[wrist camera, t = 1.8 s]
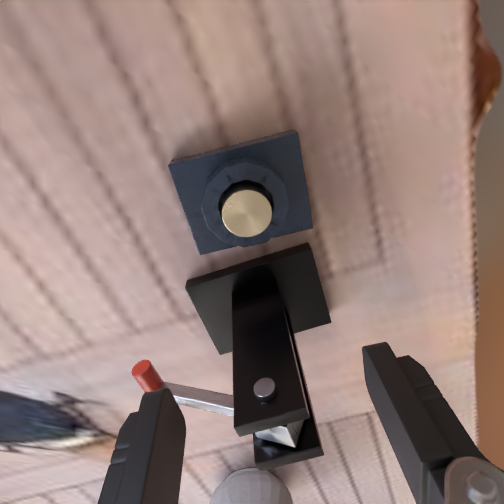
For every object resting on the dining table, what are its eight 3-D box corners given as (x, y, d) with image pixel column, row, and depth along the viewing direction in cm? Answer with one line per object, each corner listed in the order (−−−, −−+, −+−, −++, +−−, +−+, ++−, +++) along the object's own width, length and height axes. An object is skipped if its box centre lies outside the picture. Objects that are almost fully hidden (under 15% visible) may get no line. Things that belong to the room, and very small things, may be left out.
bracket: (220, 346, 36) (215, 500, 23) (186, 280, 32) (158, 424, 19) (328, 314, 35) (387, 458, 22) (308, 241, 31) (366, 366, 18)
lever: (171, 395, 30) (155, 420, 28) (143, 354, 28) (123, 378, 26) (311, 427, 24) (302, 461, 22) (292, 376, 21) (279, 411, 19)
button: (229, 232, 27) (229, 242, 25) (216, 189, 25) (215, 197, 23) (273, 221, 26) (276, 230, 25) (264, 177, 25) (266, 184, 23)
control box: (201, 247, 31) (197, 267, 27) (170, 160, 27) (163, 172, 24) (309, 221, 30) (318, 238, 27) (294, 129, 26) (303, 137, 23)
